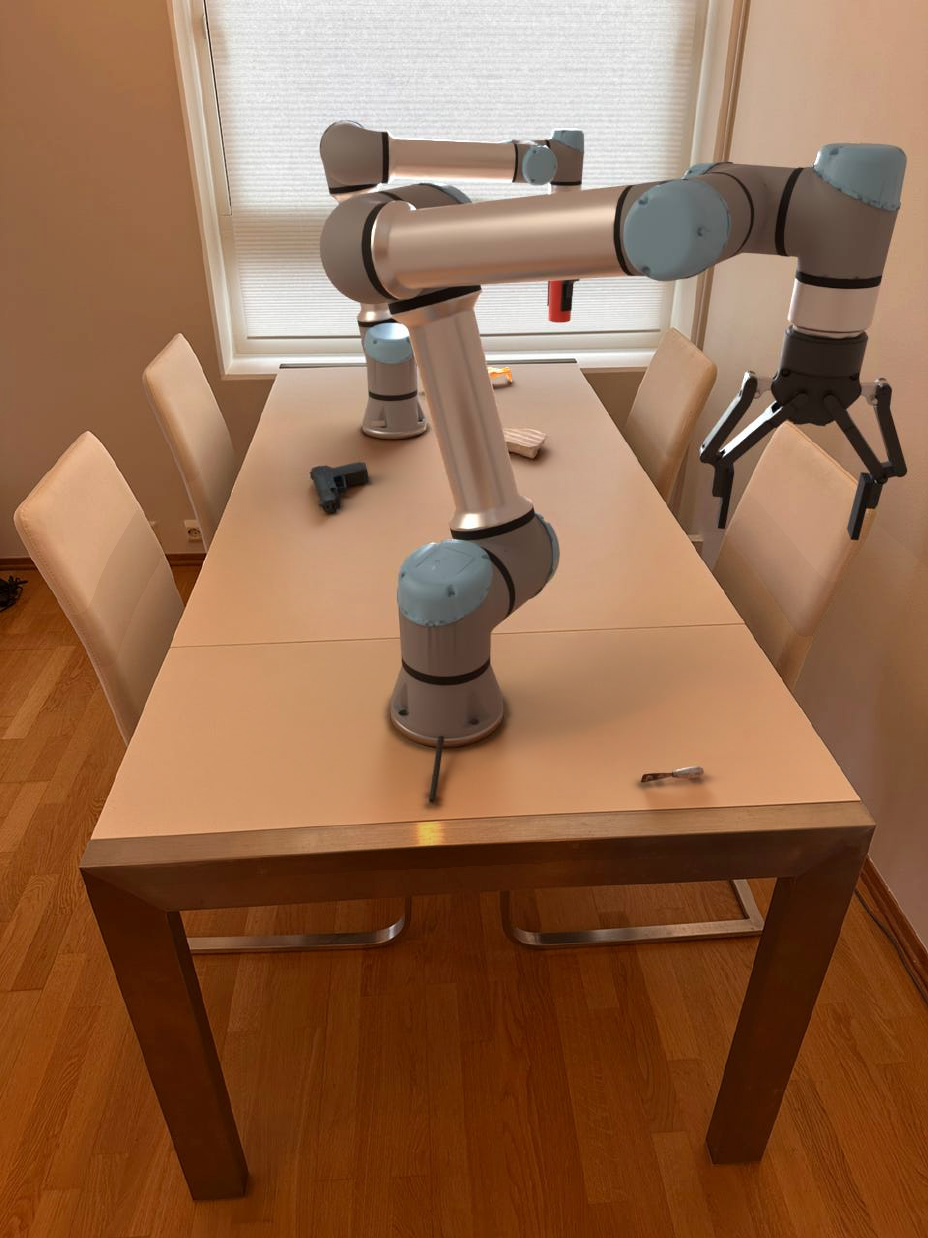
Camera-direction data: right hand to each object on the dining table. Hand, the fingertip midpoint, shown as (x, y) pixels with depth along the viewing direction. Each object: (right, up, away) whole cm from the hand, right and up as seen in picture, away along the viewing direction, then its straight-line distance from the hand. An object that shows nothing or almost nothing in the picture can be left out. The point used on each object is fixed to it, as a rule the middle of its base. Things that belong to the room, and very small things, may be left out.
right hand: (785, 529), depth 96 cm
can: (-11, +64, +124) cm, 140 cm away
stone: (-22, +29, +107) cm, 113 cm away
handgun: (-59, +16, +86) cm, 106 cm away
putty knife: (-9, -30, +13) cm, 34 cm away
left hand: (-11, +67, +123) cm, 140 cm away
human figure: (-34, +54, +147) cm, 160 cm away
